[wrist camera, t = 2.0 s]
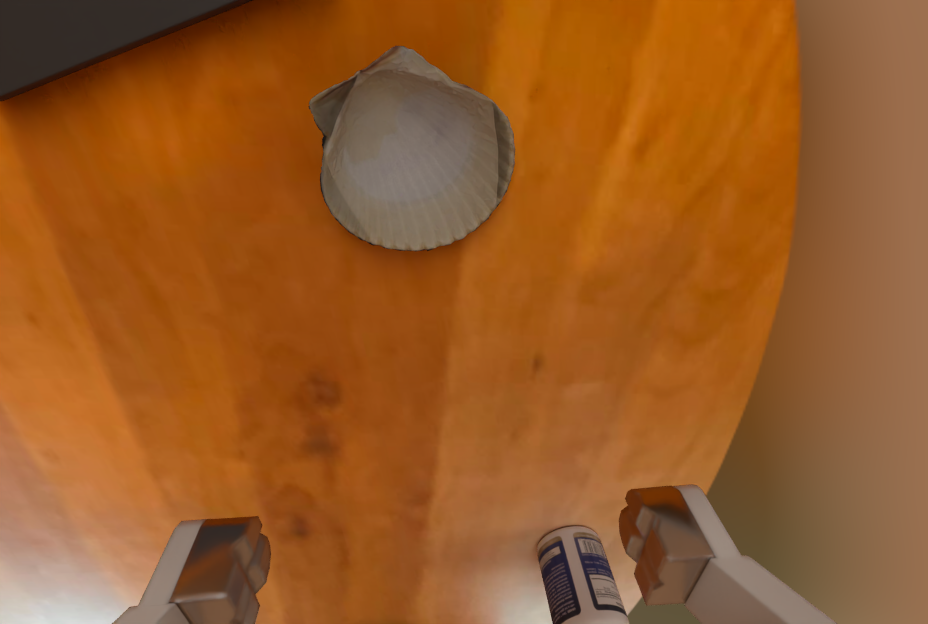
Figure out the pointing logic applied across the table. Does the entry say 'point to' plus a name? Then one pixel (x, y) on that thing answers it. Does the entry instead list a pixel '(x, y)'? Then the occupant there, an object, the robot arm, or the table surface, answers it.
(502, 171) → the seashell
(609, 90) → the table surface
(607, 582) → the pill bottle
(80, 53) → the black button board
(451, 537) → the table surface
